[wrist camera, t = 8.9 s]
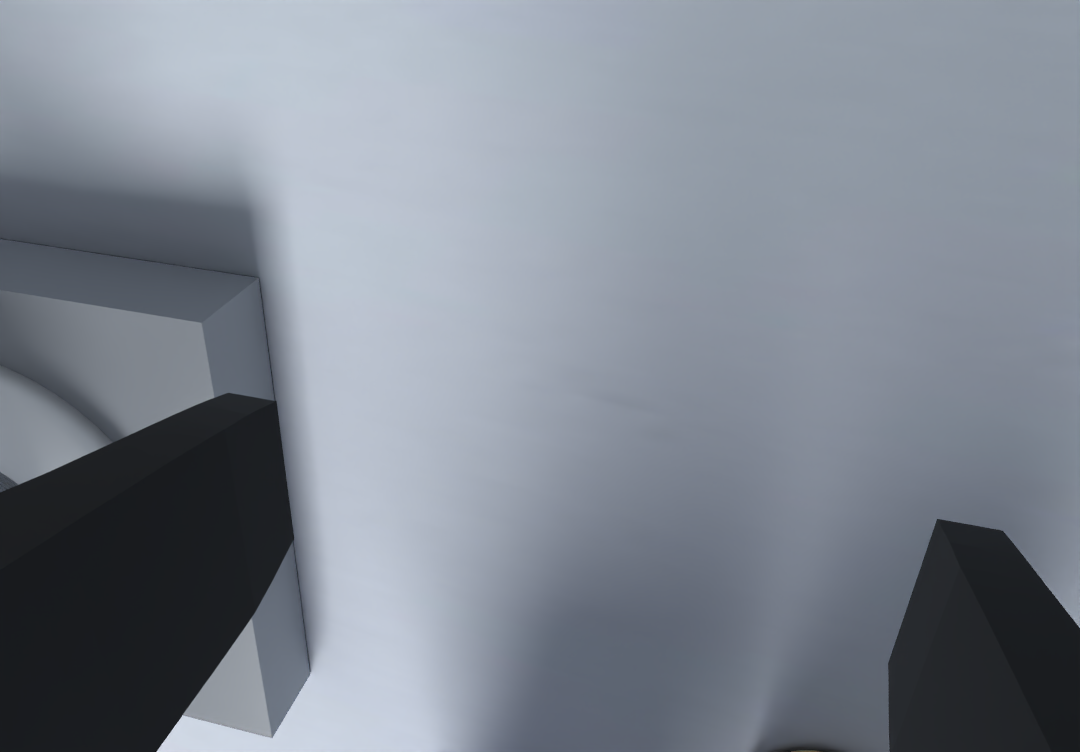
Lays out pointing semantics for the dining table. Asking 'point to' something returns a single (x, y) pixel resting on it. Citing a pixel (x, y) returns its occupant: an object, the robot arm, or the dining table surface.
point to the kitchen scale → (143, 411)
